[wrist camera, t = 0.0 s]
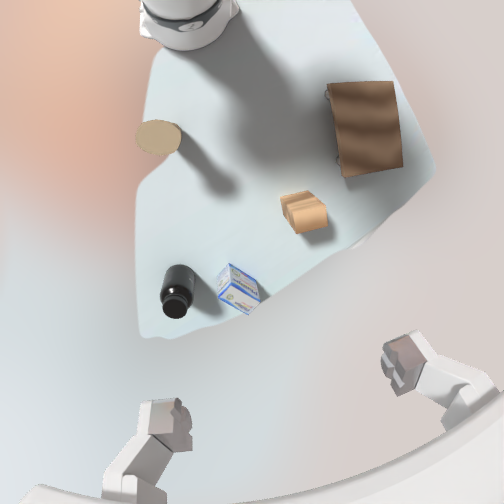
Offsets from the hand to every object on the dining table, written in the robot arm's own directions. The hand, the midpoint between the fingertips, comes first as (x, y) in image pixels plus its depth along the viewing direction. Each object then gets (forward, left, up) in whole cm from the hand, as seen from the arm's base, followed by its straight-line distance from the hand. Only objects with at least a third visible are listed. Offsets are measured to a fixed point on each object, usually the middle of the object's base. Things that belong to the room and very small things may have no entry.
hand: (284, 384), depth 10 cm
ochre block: (+11, +12, -48) cm, 51 cm away
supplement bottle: (+21, -16, -48) cm, 55 cm away
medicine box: (+25, -4, -48) cm, 55 cm away
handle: (-9, -8, -48) cm, 50 cm away
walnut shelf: (-3, +28, -48) cm, 56 cm away
